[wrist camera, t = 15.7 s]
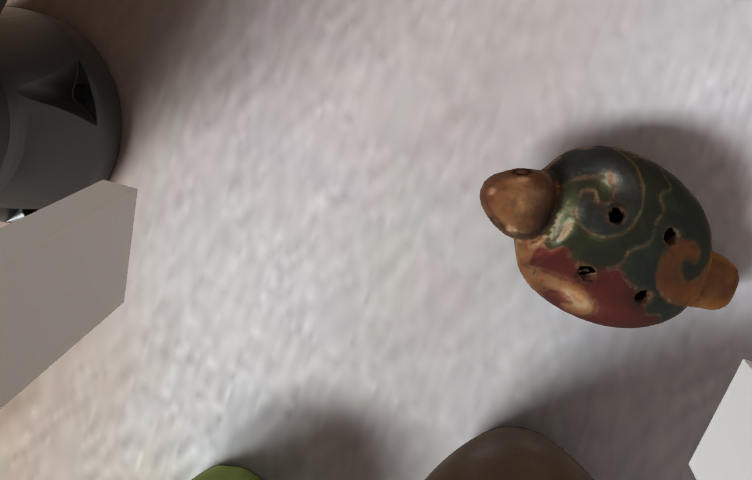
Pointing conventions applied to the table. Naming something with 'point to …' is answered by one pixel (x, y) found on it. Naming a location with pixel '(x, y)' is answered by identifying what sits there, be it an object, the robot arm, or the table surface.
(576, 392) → the table surface
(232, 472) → the plant pot
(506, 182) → the decorative turtle
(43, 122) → the robot arm
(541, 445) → the plant pot
